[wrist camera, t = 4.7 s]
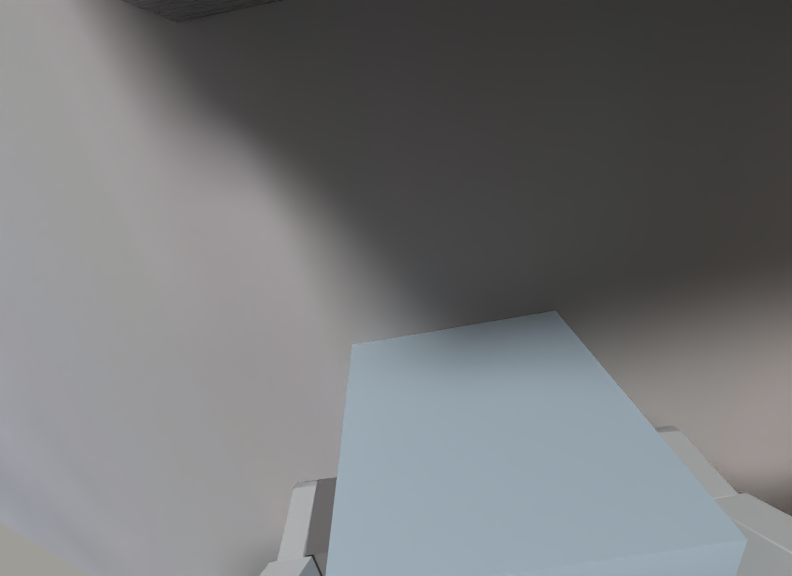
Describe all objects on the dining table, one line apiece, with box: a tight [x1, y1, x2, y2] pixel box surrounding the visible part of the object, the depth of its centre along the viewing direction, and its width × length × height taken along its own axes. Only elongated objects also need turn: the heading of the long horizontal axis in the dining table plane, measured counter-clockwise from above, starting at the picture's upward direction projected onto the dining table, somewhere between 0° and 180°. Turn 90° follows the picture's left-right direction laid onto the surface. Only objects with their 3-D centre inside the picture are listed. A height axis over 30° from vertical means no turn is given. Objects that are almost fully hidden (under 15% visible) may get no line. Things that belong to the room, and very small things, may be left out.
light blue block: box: [326, 311, 748, 576], centre depth 7 cm, size 5×5×7 cm
